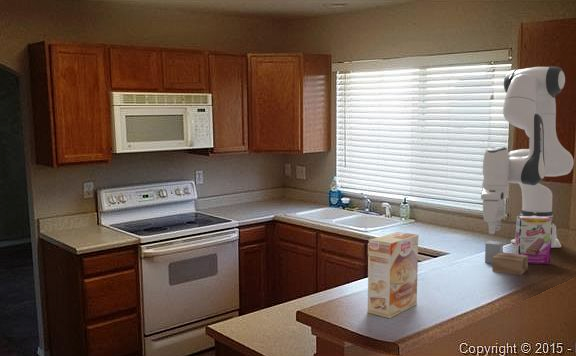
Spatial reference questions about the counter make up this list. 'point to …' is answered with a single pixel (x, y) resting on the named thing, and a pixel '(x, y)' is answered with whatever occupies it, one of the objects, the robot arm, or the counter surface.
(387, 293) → the coffeecake box
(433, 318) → the counter surface
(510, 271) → the tan block
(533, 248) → the candy bar box
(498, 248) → the grey plastic block
